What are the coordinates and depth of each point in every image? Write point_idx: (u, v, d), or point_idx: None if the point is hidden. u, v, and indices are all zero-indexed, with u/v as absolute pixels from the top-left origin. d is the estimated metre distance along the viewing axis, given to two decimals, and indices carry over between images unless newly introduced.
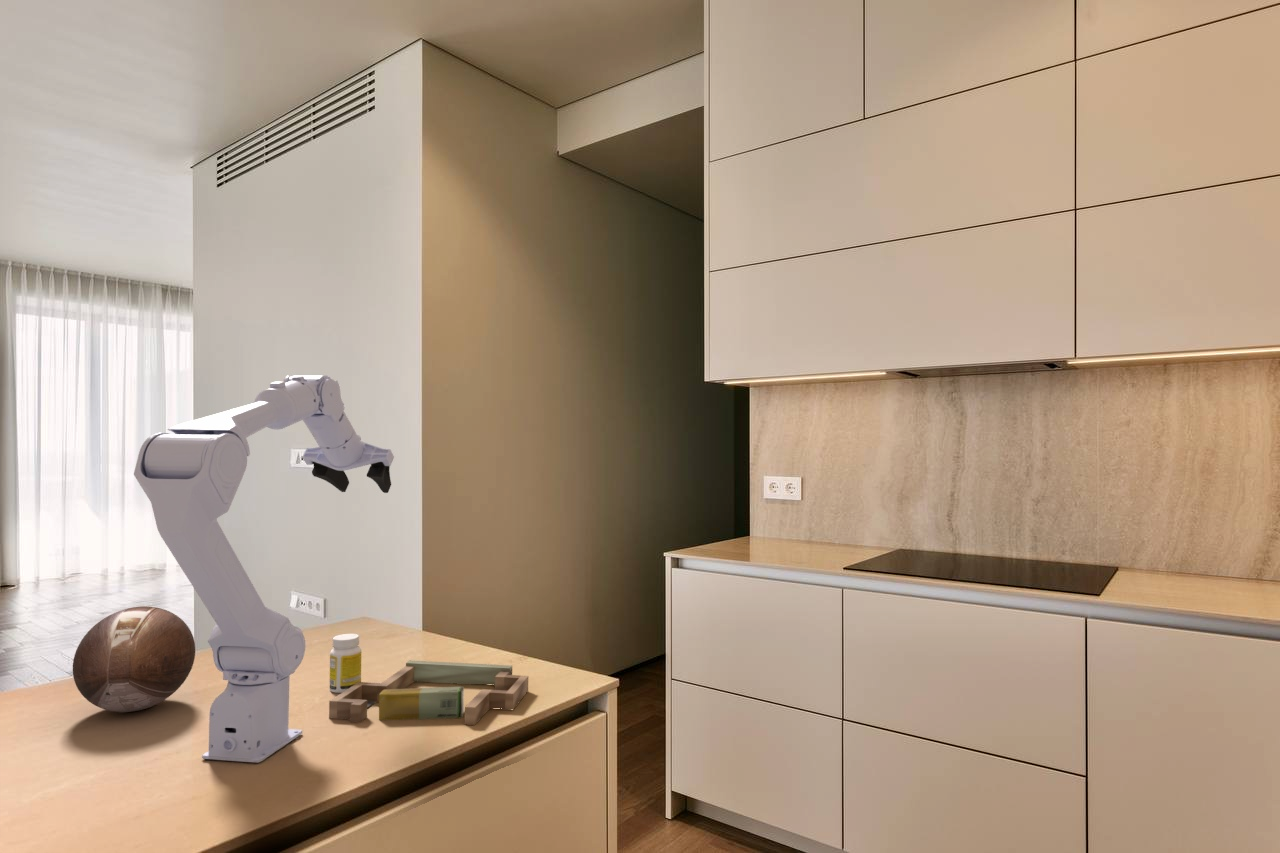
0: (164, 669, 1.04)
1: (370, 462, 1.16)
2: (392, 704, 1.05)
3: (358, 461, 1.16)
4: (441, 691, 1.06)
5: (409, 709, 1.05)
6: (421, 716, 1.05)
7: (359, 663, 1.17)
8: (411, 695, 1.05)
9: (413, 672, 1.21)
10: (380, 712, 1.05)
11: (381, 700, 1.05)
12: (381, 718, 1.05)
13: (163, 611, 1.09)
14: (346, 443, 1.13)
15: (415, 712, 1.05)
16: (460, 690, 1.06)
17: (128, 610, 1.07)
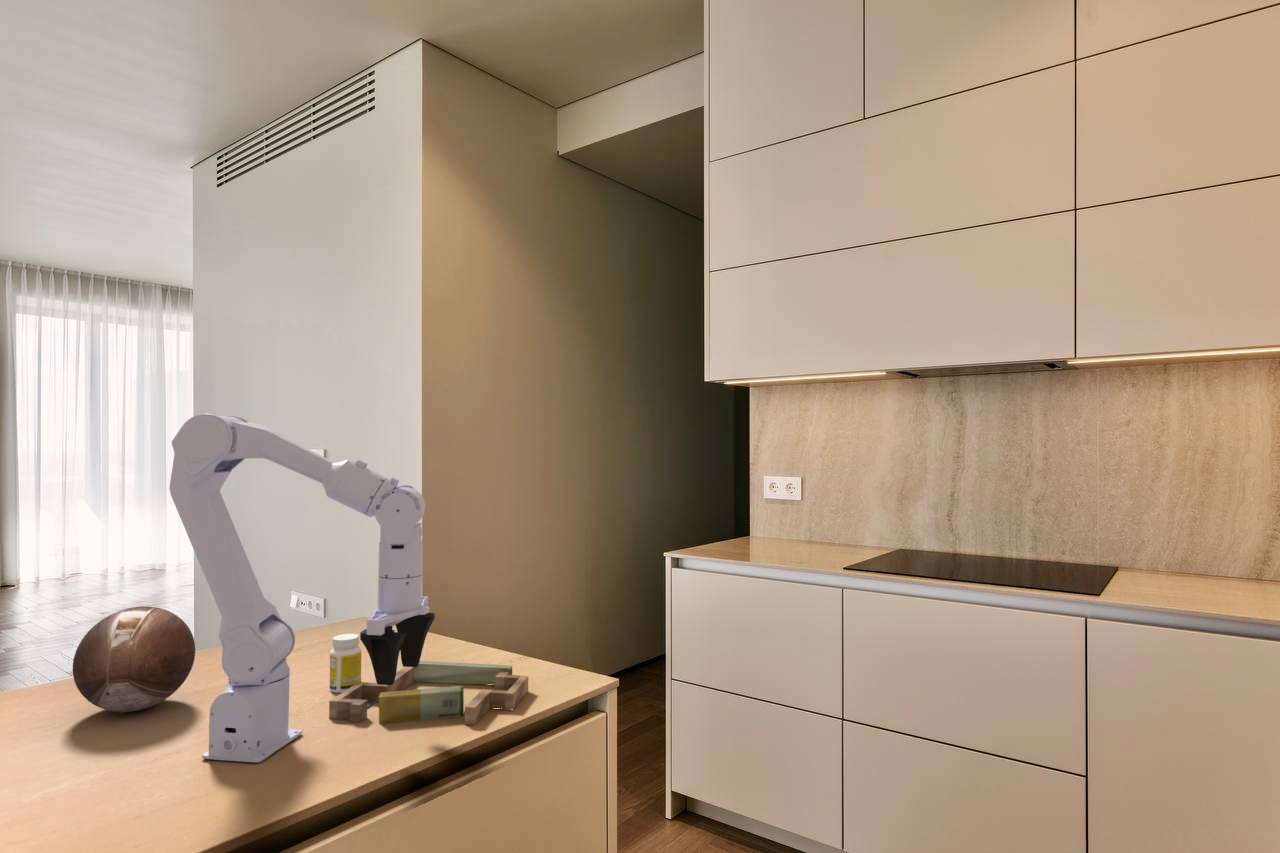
0: (164, 669, 1.04)
1: None
2: (392, 706, 1.04)
3: (380, 612, 0.97)
4: (442, 691, 1.06)
5: (410, 711, 1.04)
6: (422, 717, 1.05)
7: (359, 663, 1.17)
8: (412, 697, 1.05)
9: (413, 672, 1.21)
10: (380, 715, 1.03)
11: (381, 702, 1.04)
12: (381, 721, 1.03)
13: (163, 611, 1.09)
14: (381, 579, 0.97)
15: (416, 713, 1.05)
16: (461, 689, 1.07)
17: (128, 610, 1.07)
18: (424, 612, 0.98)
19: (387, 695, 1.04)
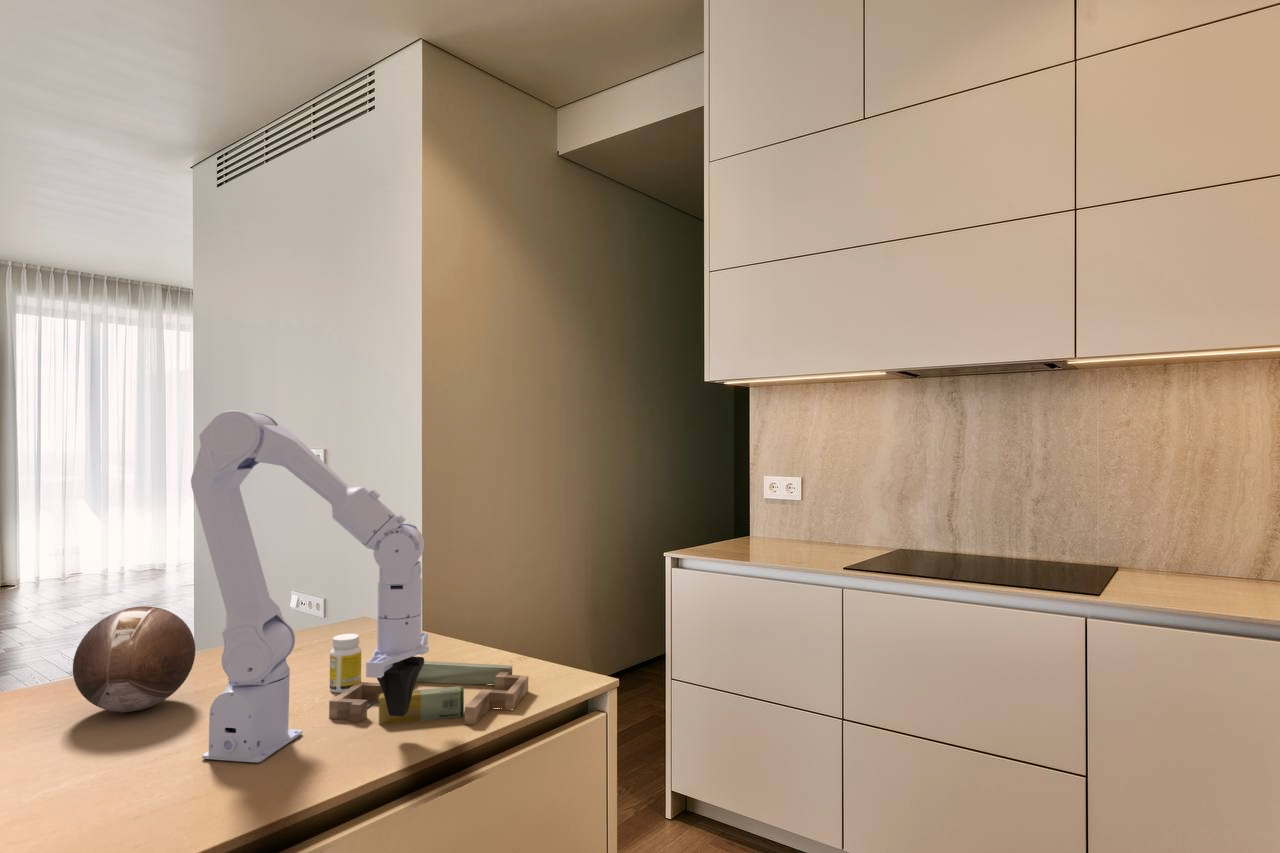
0: (164, 669, 1.04)
1: None
2: None
3: (379, 653, 0.96)
4: (442, 691, 1.06)
5: (410, 712, 1.04)
6: (423, 718, 1.05)
7: (359, 663, 1.17)
8: (412, 697, 1.04)
9: None
10: (380, 716, 1.03)
11: (381, 704, 1.03)
12: (381, 722, 1.03)
13: (163, 611, 1.09)
14: (380, 619, 0.97)
15: (416, 714, 1.04)
16: (461, 689, 1.07)
17: (128, 610, 1.07)
18: (424, 652, 0.98)
19: None
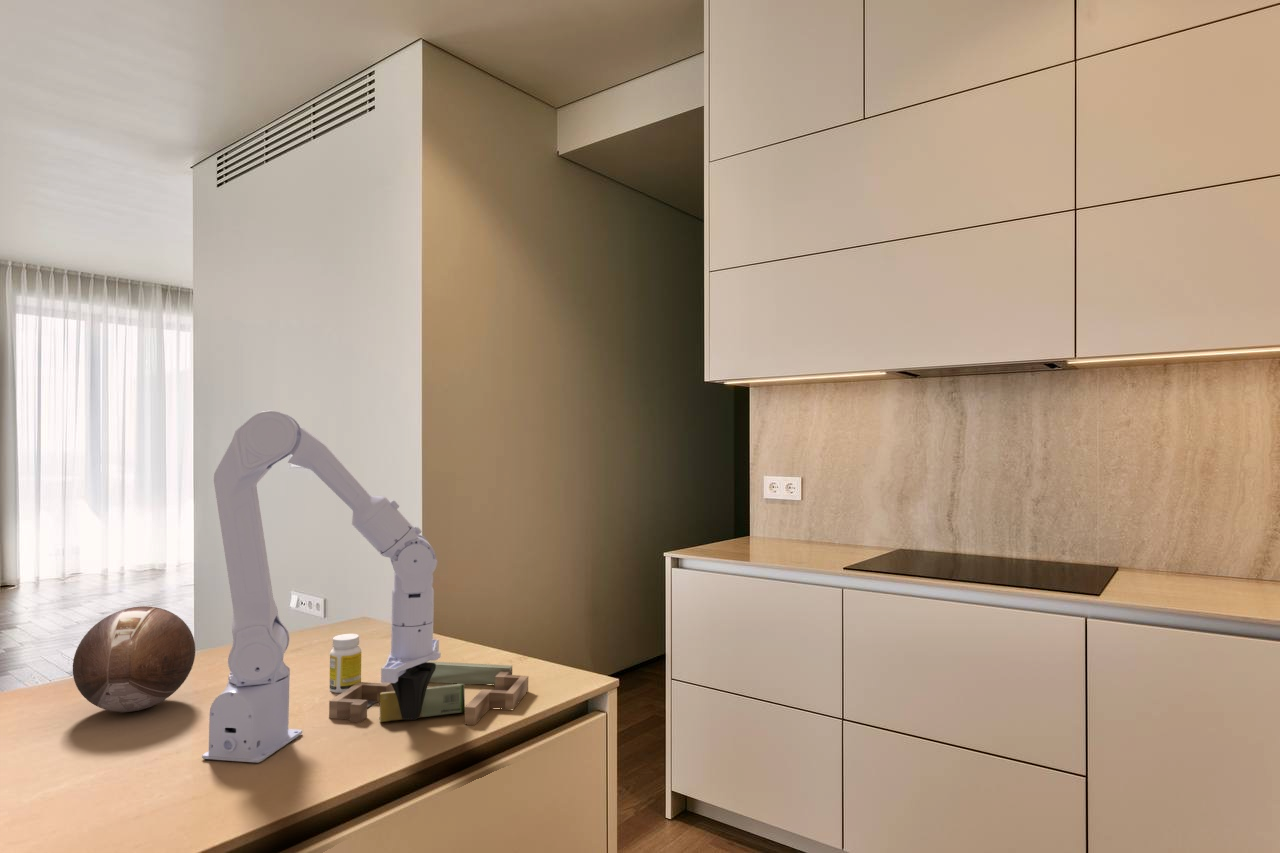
0: (164, 669, 1.04)
1: (386, 664, 0.99)
2: (394, 703, 1.04)
3: (393, 658, 1.01)
4: (443, 686, 1.07)
5: None
6: (424, 713, 1.05)
7: (359, 663, 1.17)
8: None
9: None
10: (382, 712, 1.03)
11: (383, 699, 1.03)
12: (383, 719, 1.03)
13: (163, 611, 1.09)
14: (394, 626, 1.01)
15: None
16: (462, 684, 1.08)
17: (128, 610, 1.07)
18: (435, 658, 1.02)
19: (388, 692, 1.04)
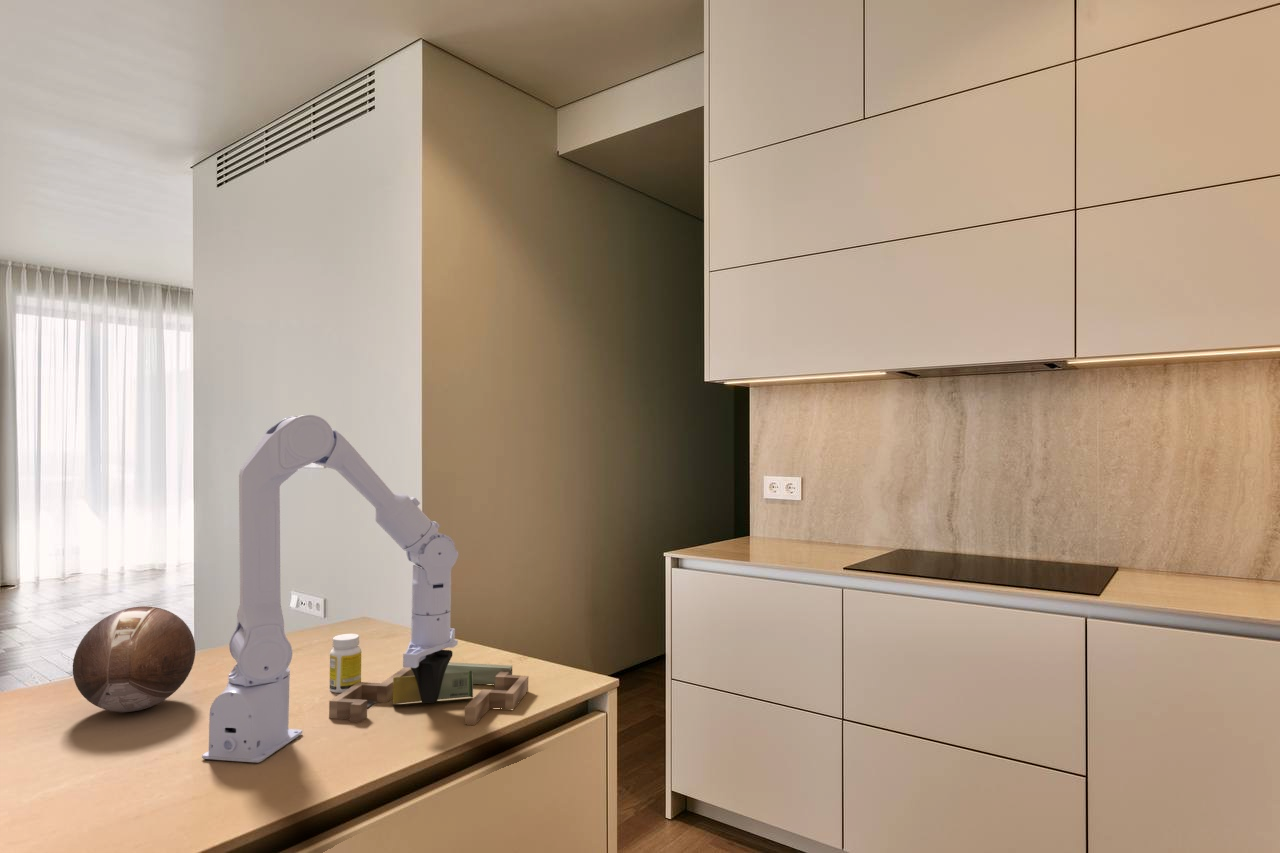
0: (164, 669, 1.04)
1: (407, 650, 1.05)
2: (406, 686, 1.10)
3: (413, 645, 1.07)
4: (452, 672, 1.13)
5: None
6: None
7: (359, 663, 1.17)
8: None
9: None
10: (394, 694, 1.09)
11: (395, 682, 1.10)
12: (395, 700, 1.09)
13: (163, 611, 1.09)
14: (414, 615, 1.07)
15: None
16: None
17: (128, 610, 1.07)
18: (453, 645, 1.08)
19: None
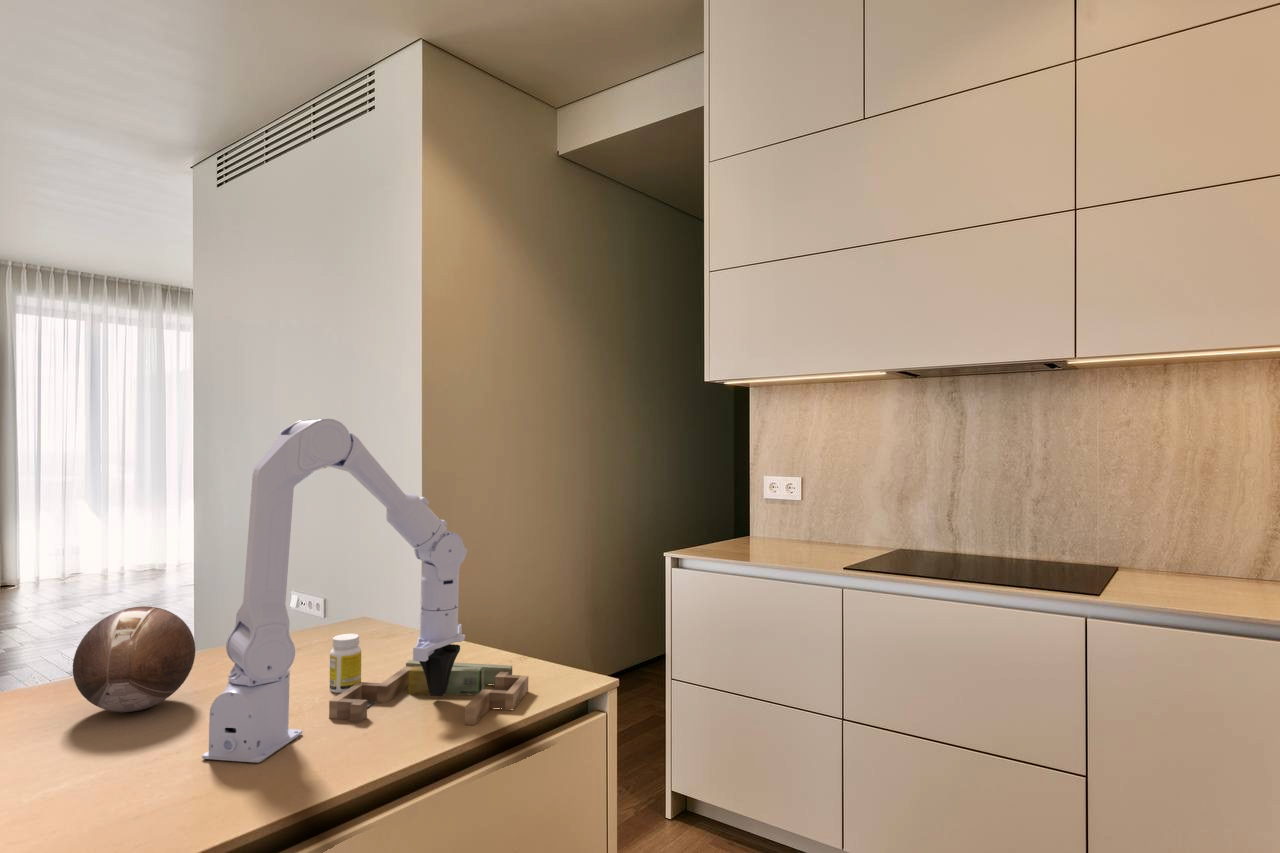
0: (164, 669, 1.04)
1: None
2: (420, 679, 1.16)
3: (422, 640, 1.10)
4: (463, 670, 1.16)
5: None
6: None
7: (359, 663, 1.17)
8: None
9: None
10: (409, 686, 1.16)
11: (410, 675, 1.16)
12: (410, 692, 1.15)
13: (163, 611, 1.09)
14: (423, 610, 1.11)
15: None
16: (481, 669, 1.16)
17: (128, 610, 1.07)
18: (461, 640, 1.12)
19: (416, 669, 1.16)
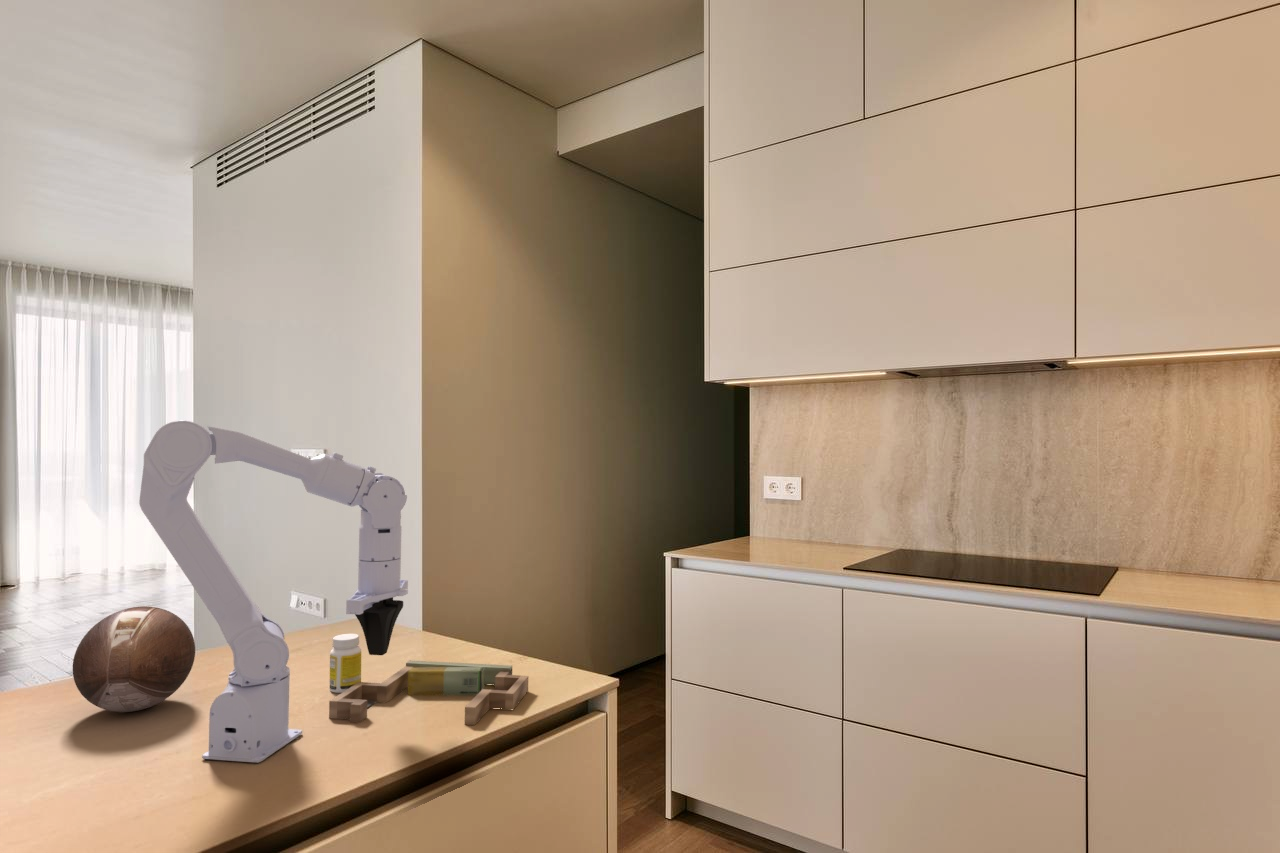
0: (163, 669, 1.04)
1: None
2: (419, 680, 1.15)
3: (359, 593, 1.01)
4: (463, 670, 1.16)
5: (434, 686, 1.15)
6: (445, 692, 1.15)
7: (359, 663, 1.17)
8: (436, 673, 1.15)
9: None
10: (409, 687, 1.15)
11: (410, 676, 1.15)
12: (410, 693, 1.15)
13: (163, 611, 1.09)
14: (361, 561, 1.02)
15: (440, 688, 1.15)
16: (481, 670, 1.16)
17: (128, 610, 1.07)
18: (402, 594, 1.02)
19: (415, 670, 1.16)
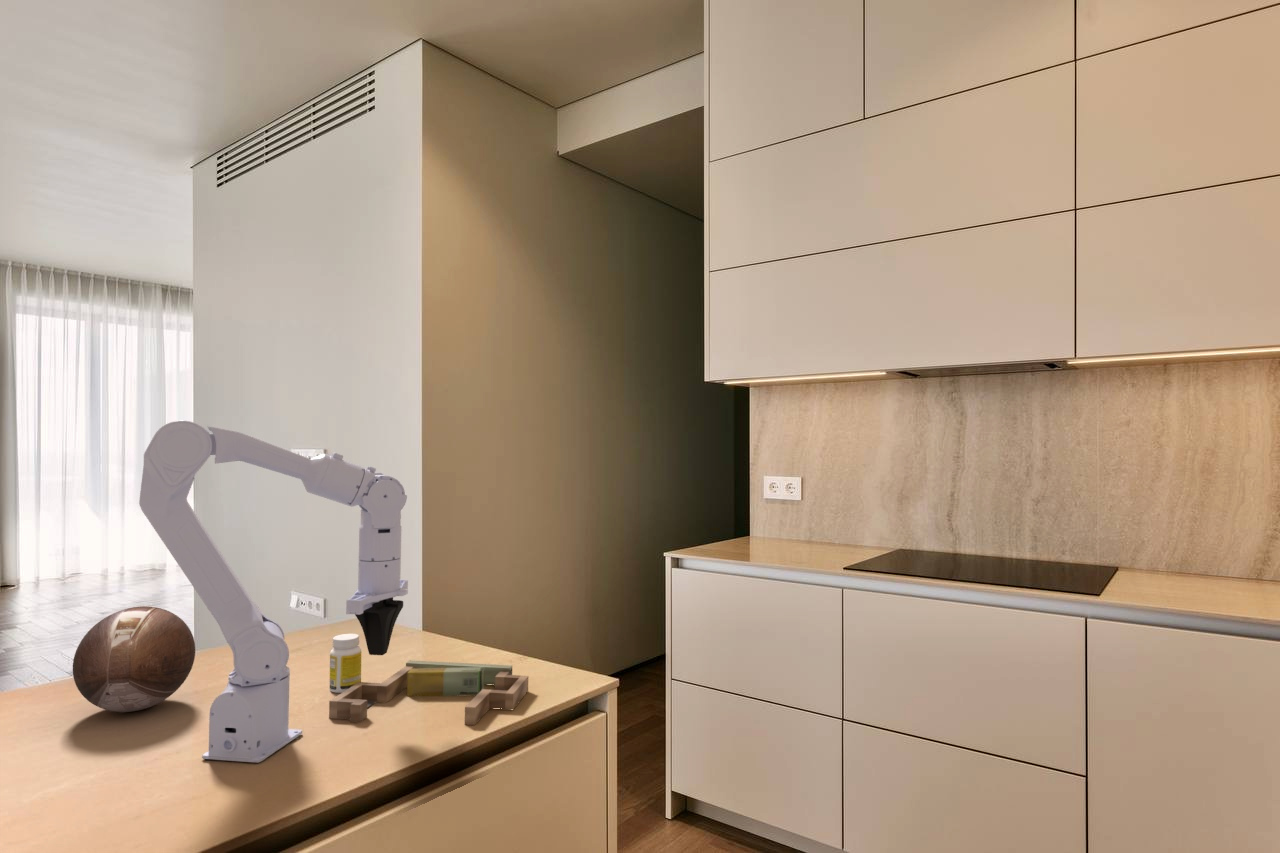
0: (164, 669, 1.04)
1: None
2: (419, 681, 1.15)
3: (359, 593, 1.01)
4: (463, 670, 1.16)
5: (434, 687, 1.15)
6: (445, 693, 1.15)
7: (359, 663, 1.17)
8: (436, 674, 1.15)
9: None
10: (408, 689, 1.14)
11: (409, 677, 1.15)
12: (409, 694, 1.14)
13: (163, 611, 1.09)
14: (361, 561, 1.02)
15: (439, 689, 1.15)
16: (481, 670, 1.16)
17: (128, 610, 1.07)
18: (402, 594, 1.02)
19: (415, 671, 1.15)
